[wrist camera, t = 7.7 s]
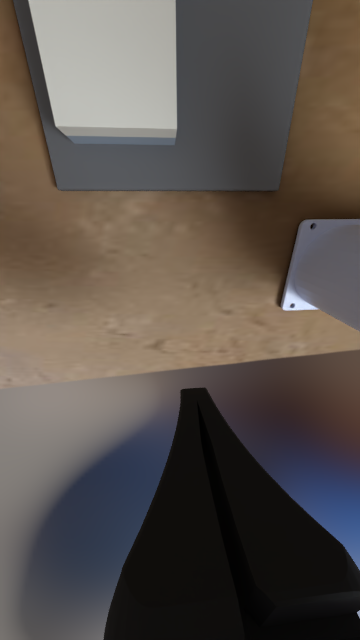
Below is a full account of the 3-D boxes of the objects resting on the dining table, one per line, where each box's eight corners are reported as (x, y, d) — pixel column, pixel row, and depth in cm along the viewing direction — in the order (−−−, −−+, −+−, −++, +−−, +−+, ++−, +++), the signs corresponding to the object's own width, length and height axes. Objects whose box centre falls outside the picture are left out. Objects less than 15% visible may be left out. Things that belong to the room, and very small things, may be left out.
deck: (173, -211, 7) (-23, -236, 6) (176, 128, 11) (55, 126, 10) (170, -104, 9) (25, -118, 9) (174, 145, 13) (74, 143, 13)
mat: (336, -168, 9) (347, -192, 9) (274, 191, 15) (278, 189, 15) (-32, -214, 8) (-46, -246, 8) (61, 190, 14) (57, 189, 14)
